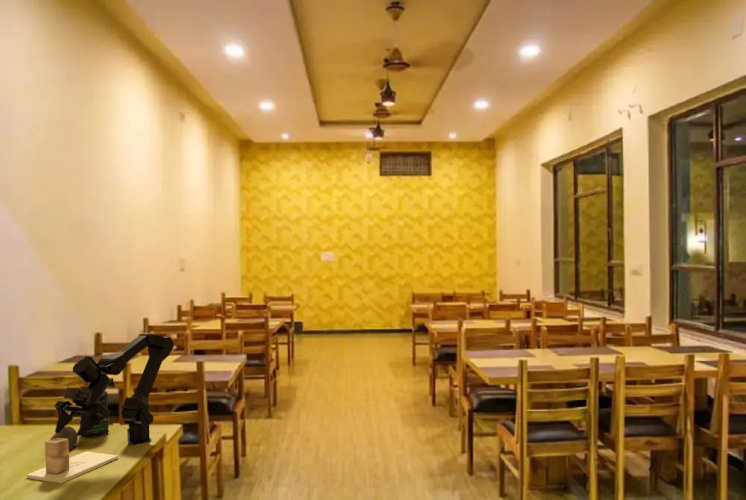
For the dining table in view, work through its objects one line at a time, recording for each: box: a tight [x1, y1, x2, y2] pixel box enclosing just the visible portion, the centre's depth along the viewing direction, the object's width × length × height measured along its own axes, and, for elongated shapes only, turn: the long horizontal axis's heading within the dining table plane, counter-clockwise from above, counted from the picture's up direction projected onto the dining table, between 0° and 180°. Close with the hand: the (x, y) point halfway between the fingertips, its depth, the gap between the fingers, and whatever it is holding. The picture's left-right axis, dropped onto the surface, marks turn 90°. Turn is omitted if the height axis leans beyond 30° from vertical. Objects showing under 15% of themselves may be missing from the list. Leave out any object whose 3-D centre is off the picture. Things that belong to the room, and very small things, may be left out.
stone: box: [49, 425, 79, 451], centre depth 214 cm, size 10×8×10 cm
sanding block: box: [44, 438, 70, 475], centre depth 188 cm, size 4×4×10 cm
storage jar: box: [79, 390, 110, 439], centre depth 230 cm, size 10×10×15 cm
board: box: [26, 451, 119, 484], centre depth 193 cm, size 22×14×1 cm, turn 157°
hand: (66, 434), depth 191 cm, fingers open, 9 cm apart
